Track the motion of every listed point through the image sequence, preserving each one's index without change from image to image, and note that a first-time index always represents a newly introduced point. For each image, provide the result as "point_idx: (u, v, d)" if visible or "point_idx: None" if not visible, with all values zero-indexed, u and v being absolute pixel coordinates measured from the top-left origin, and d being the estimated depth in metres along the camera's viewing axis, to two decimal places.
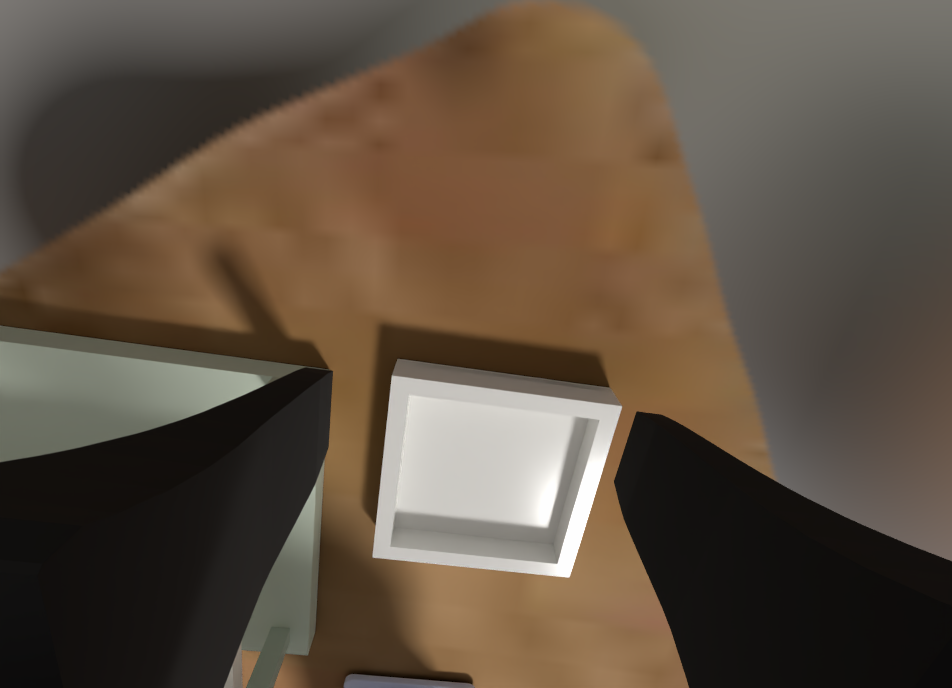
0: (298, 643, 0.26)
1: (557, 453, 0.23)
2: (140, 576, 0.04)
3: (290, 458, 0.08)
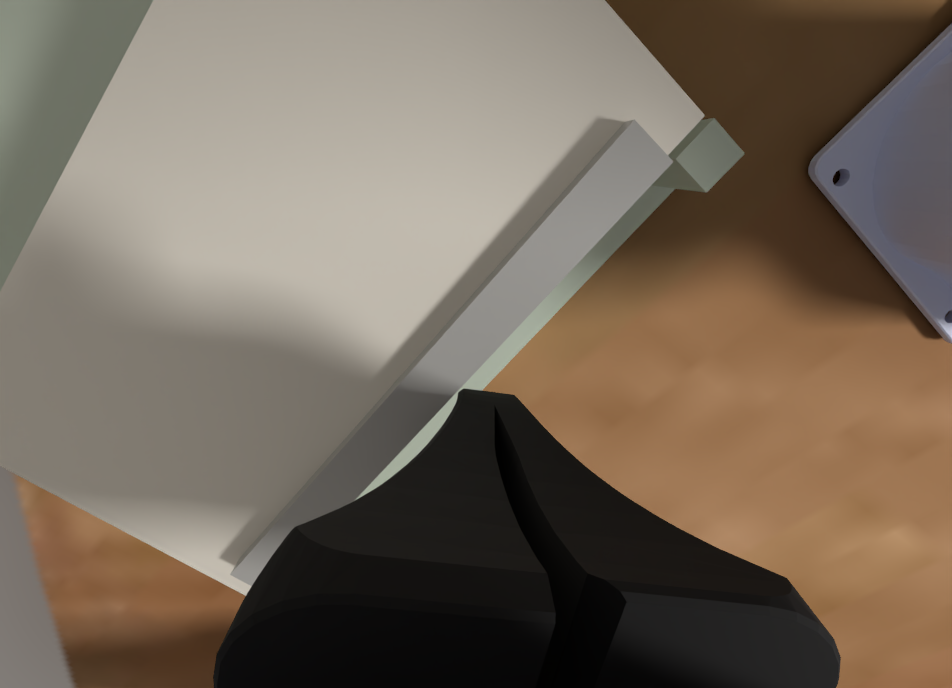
0: None
1: None
2: None
3: None
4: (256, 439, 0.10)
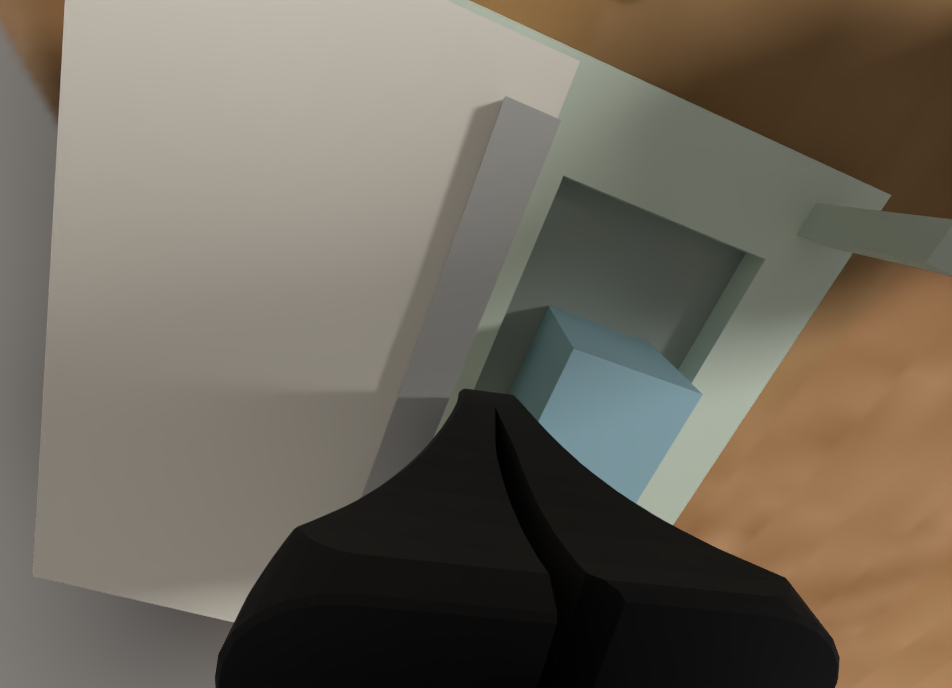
0: (856, 201, 0.14)
1: None
2: None
3: None
4: (290, 506, 0.11)
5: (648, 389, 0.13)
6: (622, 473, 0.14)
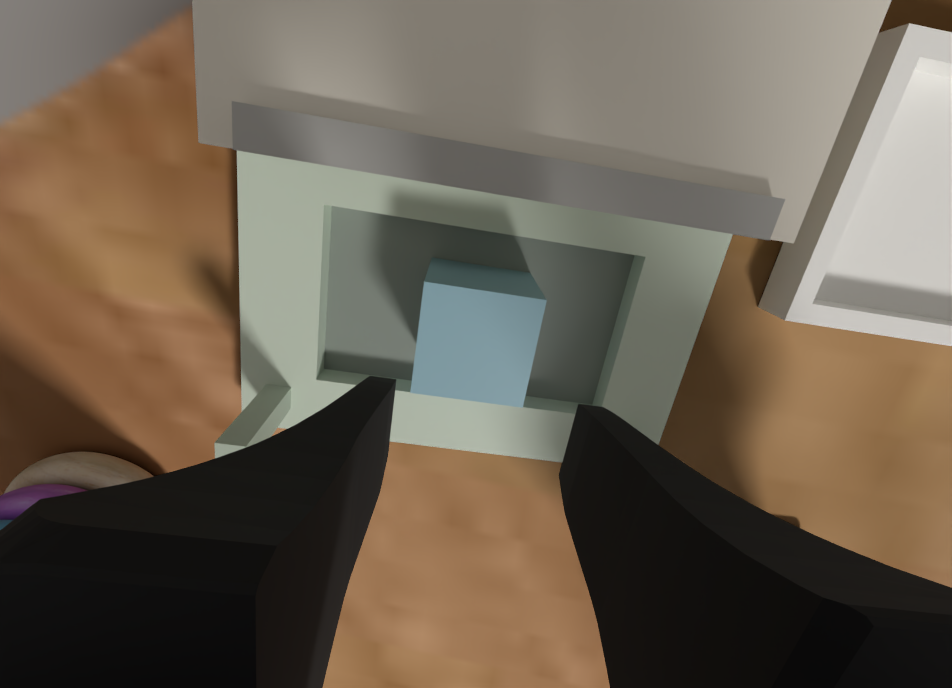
0: None
1: None
2: (295, 591, 0.04)
3: (369, 467, 0.09)
4: (389, 56, 0.10)
5: (520, 367, 0.16)
6: (437, 373, 0.16)
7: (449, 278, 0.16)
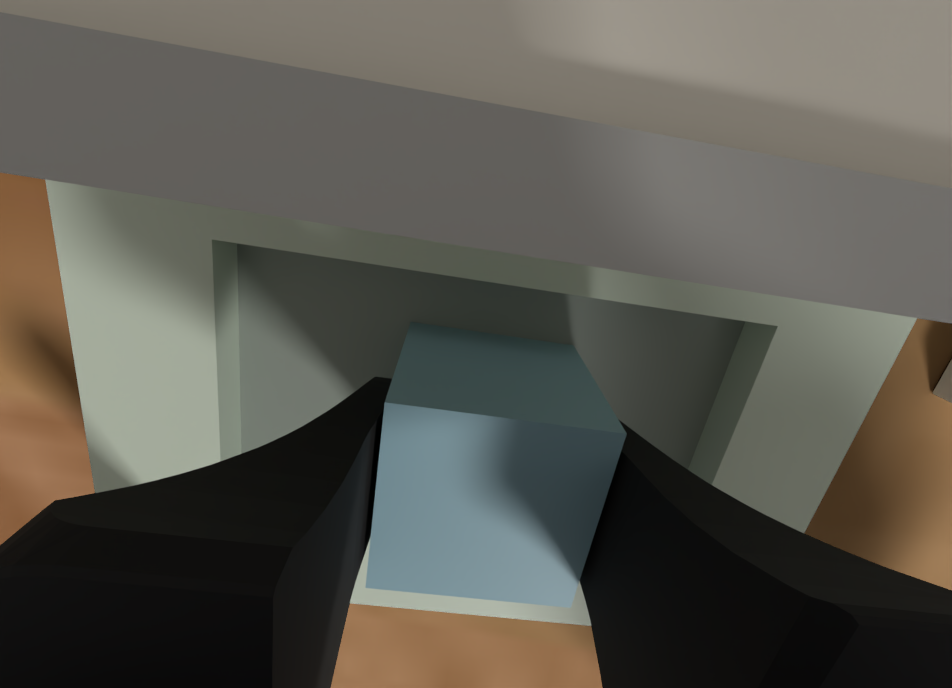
0: None
1: None
2: (308, 592, 0.04)
3: (375, 468, 0.09)
4: None
5: (569, 546, 0.09)
6: (415, 557, 0.09)
7: (437, 382, 0.08)
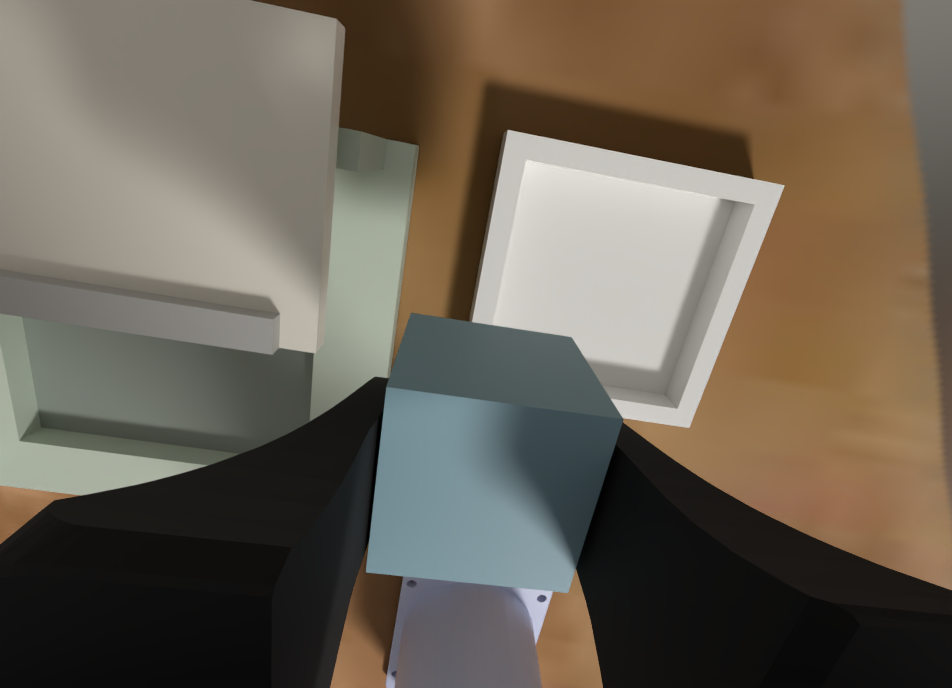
0: None
1: (685, 268, 0.19)
2: (308, 592, 0.04)
3: (375, 468, 0.09)
4: None
5: (566, 531, 0.09)
6: (414, 541, 0.09)
7: (437, 369, 0.09)
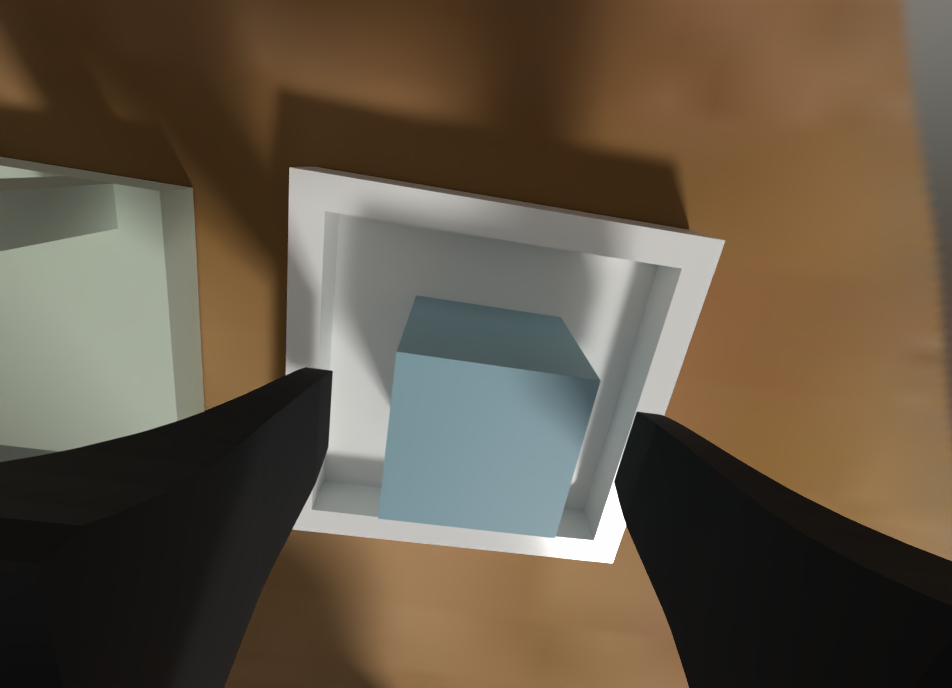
0: None
1: (596, 350, 0.13)
2: (140, 576, 0.04)
3: (290, 458, 0.08)
4: None
5: (553, 481, 0.10)
6: (420, 490, 0.10)
7: (440, 340, 0.10)
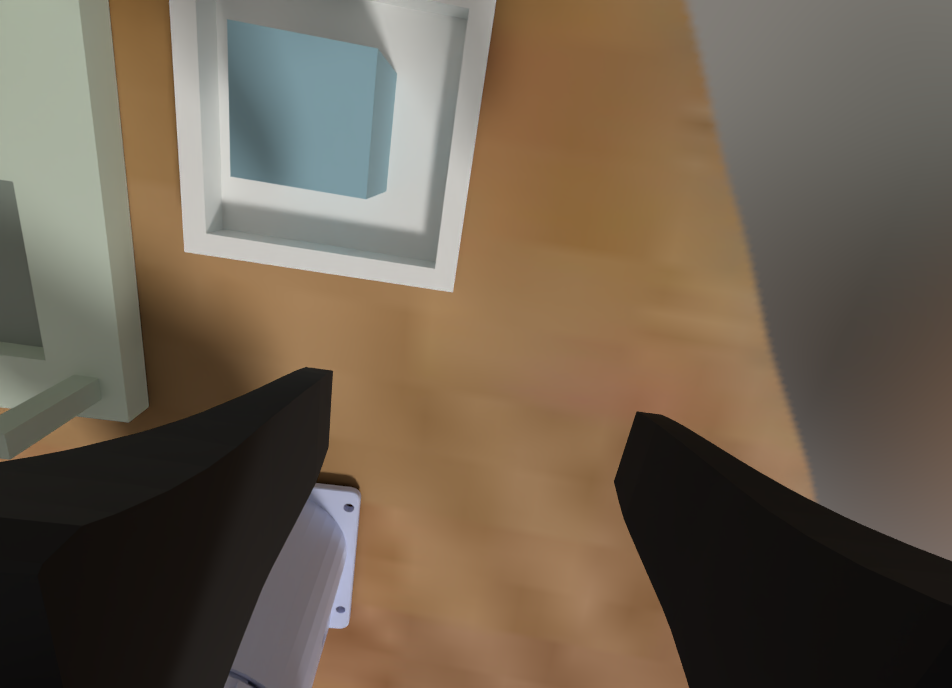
0: (113, 402, 0.20)
1: (428, 105, 0.17)
2: (140, 576, 0.04)
3: (290, 458, 0.08)
4: None
5: (356, 143, 0.14)
6: (259, 150, 0.14)
7: None
